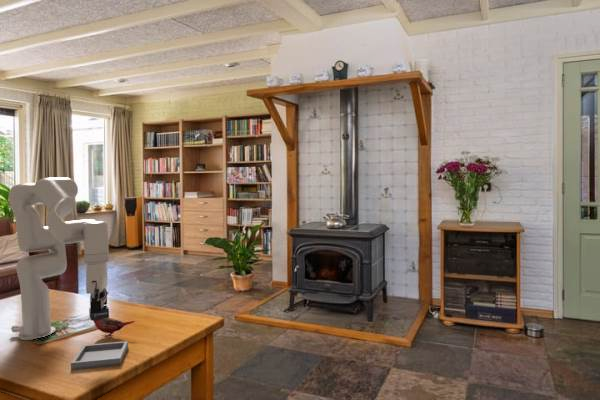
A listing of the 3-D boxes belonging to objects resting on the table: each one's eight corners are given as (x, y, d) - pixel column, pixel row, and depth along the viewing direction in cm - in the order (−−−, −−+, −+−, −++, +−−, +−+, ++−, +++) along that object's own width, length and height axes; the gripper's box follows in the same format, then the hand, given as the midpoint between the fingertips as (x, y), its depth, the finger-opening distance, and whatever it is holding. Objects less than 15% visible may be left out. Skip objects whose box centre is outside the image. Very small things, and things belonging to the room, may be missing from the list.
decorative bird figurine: (92, 335, 170) (91, 310, 170) (137, 335, 170) (136, 310, 169) (88, 338, 167) (87, 312, 167) (134, 338, 167) (133, 312, 166)
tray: (71, 370, 140) (70, 363, 140) (83, 351, 155) (83, 345, 155) (120, 365, 143) (120, 358, 143) (128, 347, 158) (128, 341, 158)
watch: (92, 322, 143) (90, 289, 143) (88, 315, 150) (87, 284, 149) (110, 318, 146) (109, 286, 146) (106, 312, 153) (105, 281, 152)
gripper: (91, 253, 155) (93, 302, 156) (77, 263, 138) (80, 317, 139) (113, 252, 156) (116, 300, 157) (102, 262, 139) (105, 315, 140)
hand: (99, 308), depth 148 cm, fingers closed on watch, 8 cm apart
